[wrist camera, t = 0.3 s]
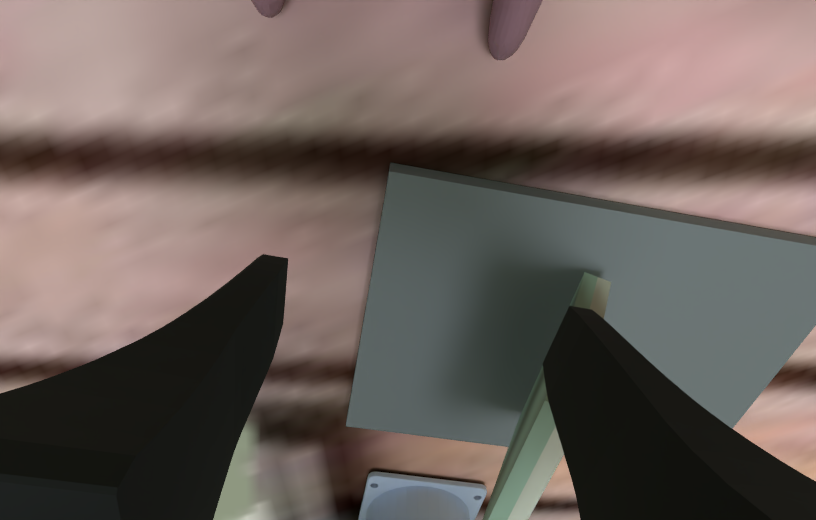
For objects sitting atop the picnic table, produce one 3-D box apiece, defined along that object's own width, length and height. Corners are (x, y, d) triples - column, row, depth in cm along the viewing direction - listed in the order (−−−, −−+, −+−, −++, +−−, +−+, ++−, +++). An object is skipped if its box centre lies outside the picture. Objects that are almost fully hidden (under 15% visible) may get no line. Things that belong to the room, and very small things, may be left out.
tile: (584, 272, 22) (611, 281, 22) (519, 418, 27) (539, 428, 27) (544, 400, 15) (583, 418, 15) (465, 565, 20) (493, 581, 20)
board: (690, 456, 31) (698, 471, 30) (347, 412, 29) (345, 426, 29) (855, 244, 23) (872, 255, 22) (390, 162, 21) (389, 171, 20)
